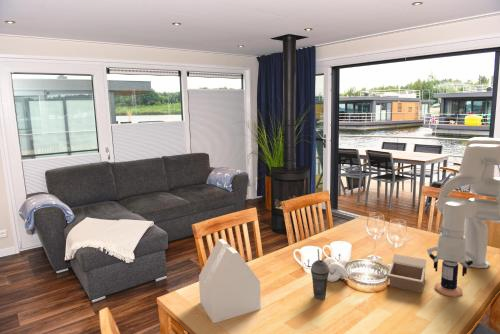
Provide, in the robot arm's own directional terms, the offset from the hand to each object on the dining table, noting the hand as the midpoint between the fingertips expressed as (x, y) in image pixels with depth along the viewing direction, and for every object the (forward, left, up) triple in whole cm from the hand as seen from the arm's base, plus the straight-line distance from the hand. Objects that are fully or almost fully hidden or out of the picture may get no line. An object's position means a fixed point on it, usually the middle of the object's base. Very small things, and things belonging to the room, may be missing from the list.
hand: (449, 272), depth 146 cm
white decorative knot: (+11, -43, -8) cm, 45 cm away
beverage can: (0, 0, -7) cm, 7 cm away
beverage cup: (+29, -45, -8) cm, 54 cm away
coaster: (0, 0, -8) cm, 8 cm away
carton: (0, -16, -8) cm, 18 cm away
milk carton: (+51, -74, -8) cm, 90 cm away
